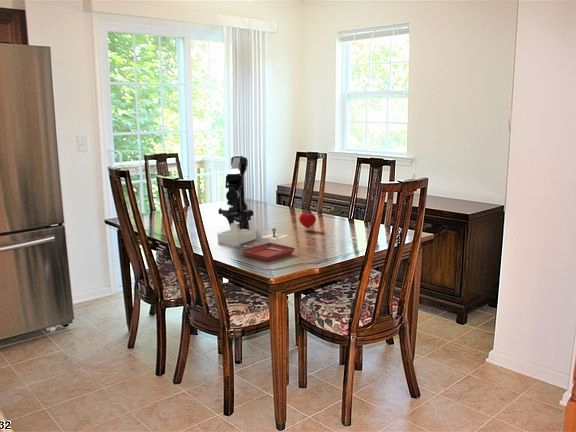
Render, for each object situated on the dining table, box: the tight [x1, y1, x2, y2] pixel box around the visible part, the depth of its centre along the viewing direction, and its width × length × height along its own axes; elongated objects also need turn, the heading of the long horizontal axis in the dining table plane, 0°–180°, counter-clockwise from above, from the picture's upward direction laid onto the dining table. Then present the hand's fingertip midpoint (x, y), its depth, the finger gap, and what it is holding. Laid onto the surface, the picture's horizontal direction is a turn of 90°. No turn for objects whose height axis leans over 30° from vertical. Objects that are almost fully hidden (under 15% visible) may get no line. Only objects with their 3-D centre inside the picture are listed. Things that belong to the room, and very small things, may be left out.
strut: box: [230, 221, 242, 236], centre depth 282 cm, size 4×4×9 cm
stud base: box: [260, 227, 289, 241], centre depth 287 cm, size 10×10×5 cm
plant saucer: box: [241, 242, 296, 262], centre depth 257 cm, size 18×18×3 cm
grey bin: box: [216, 228, 257, 247], centre depth 282 cm, size 14×14×5 cm
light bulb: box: [298, 212, 317, 232], centre depth 298 cm, size 9×7×10 cm
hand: (236, 228), depth 282 cm, fingers open, 6 cm apart
